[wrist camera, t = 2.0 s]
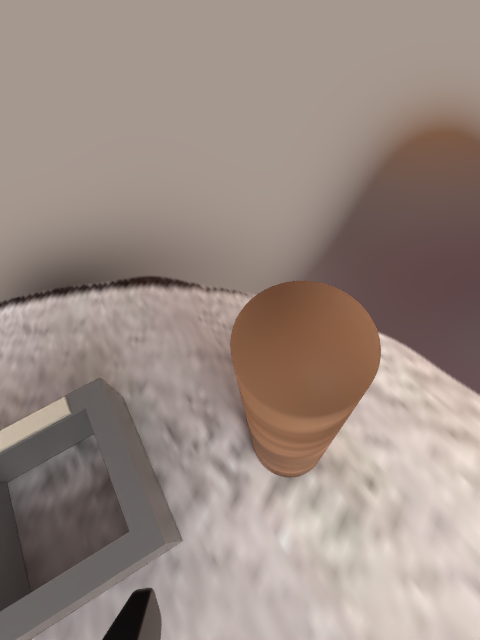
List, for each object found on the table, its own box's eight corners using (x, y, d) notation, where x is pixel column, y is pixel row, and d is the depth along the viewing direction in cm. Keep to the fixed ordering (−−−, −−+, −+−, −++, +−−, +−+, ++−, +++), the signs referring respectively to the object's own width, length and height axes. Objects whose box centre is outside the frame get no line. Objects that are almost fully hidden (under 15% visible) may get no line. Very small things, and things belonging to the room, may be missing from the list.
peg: (277, 491, 20) (282, 446, 9) (240, 427, 22) (205, 321, 11) (337, 452, 21) (413, 364, 9) (297, 393, 23) (320, 260, 11)
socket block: (14, 649, 18) (-44, 677, 14) (-19, 474, 22) (-70, 465, 18) (182, 540, 19) (164, 544, 16) (122, 397, 23) (98, 376, 20)
